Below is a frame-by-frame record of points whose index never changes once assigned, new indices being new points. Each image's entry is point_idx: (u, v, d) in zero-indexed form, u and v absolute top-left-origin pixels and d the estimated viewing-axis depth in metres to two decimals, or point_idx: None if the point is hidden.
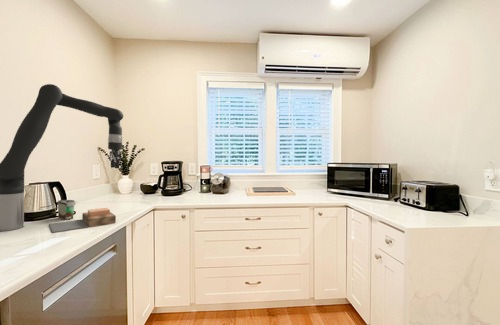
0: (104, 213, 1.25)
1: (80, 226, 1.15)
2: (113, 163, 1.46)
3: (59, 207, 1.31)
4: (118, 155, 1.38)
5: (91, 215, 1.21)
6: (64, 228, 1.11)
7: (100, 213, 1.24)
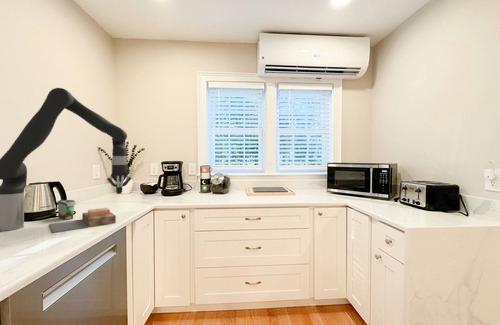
0: (104, 213, 1.25)
1: (80, 226, 1.15)
2: None
3: (59, 207, 1.31)
4: None
5: (91, 215, 1.21)
6: (64, 228, 1.11)
7: (100, 213, 1.24)
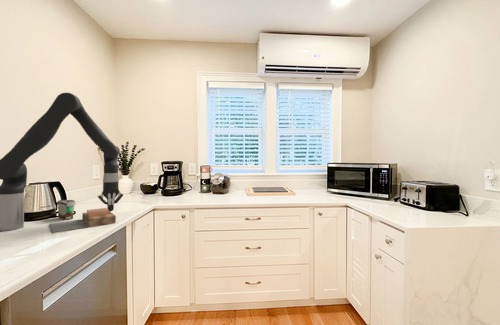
0: (103, 213, 1.25)
1: (80, 226, 1.15)
2: None
3: (59, 207, 1.31)
4: None
5: (90, 215, 1.20)
6: (64, 228, 1.11)
7: (99, 213, 1.23)
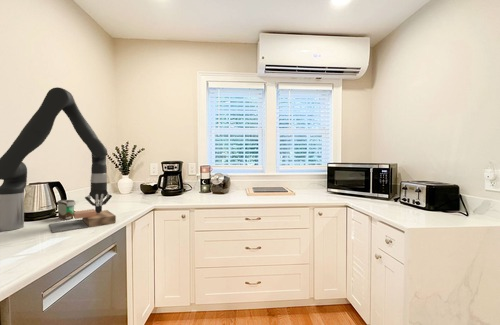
0: (90, 215, 1.21)
1: (80, 226, 1.15)
2: None
3: (59, 207, 1.31)
4: None
5: (76, 217, 1.16)
6: (64, 228, 1.11)
7: (85, 215, 1.19)
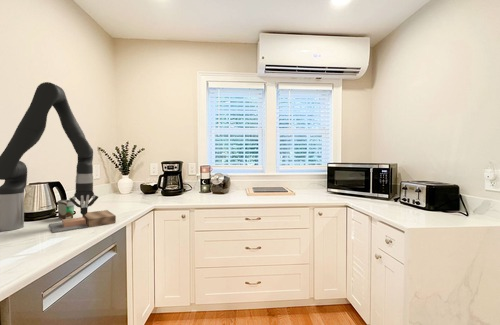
0: (80, 223, 1.17)
1: (80, 226, 1.15)
2: None
3: (59, 207, 1.31)
4: None
5: (65, 226, 1.13)
6: (64, 228, 1.11)
7: (75, 223, 1.16)
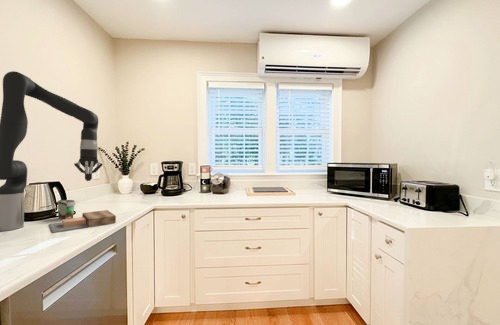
0: (80, 223, 1.17)
1: (80, 226, 1.15)
2: None
3: (59, 207, 1.31)
4: None
5: (65, 226, 1.13)
6: (64, 228, 1.11)
7: (75, 223, 1.16)
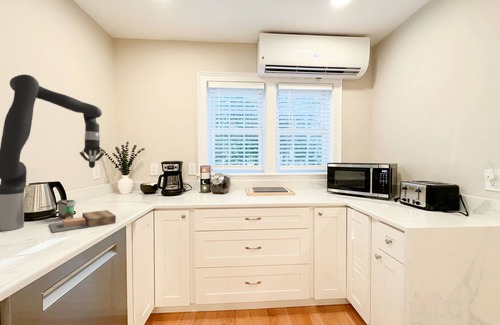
0: (80, 223, 1.17)
1: (80, 226, 1.15)
2: None
3: (59, 207, 1.31)
4: None
5: (65, 226, 1.13)
6: (64, 228, 1.11)
7: (75, 223, 1.16)
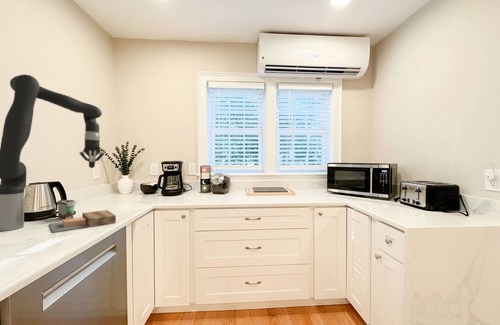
0: (80, 223, 1.17)
1: (80, 226, 1.15)
2: None
3: (59, 207, 1.31)
4: None
5: (65, 226, 1.13)
6: (64, 228, 1.11)
7: (75, 223, 1.16)
